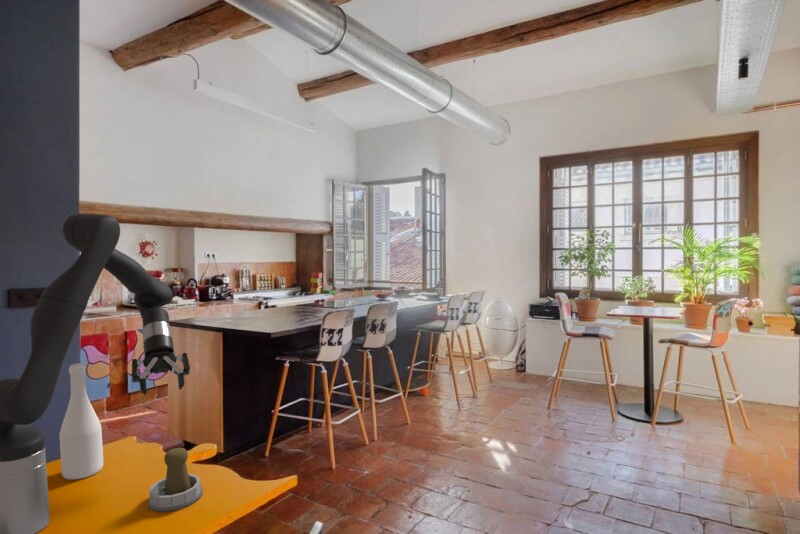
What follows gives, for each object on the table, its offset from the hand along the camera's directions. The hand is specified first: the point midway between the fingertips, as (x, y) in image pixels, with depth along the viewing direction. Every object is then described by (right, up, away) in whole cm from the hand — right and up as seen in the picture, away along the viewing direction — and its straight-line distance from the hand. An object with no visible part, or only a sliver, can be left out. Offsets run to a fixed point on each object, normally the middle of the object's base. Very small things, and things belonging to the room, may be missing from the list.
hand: (163, 390), depth 127 cm
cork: (+9, -23, -11) cm, 27 cm away
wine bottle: (-24, -24, +3) cm, 33 cm away
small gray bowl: (+9, -23, -11) cm, 27 cm away
